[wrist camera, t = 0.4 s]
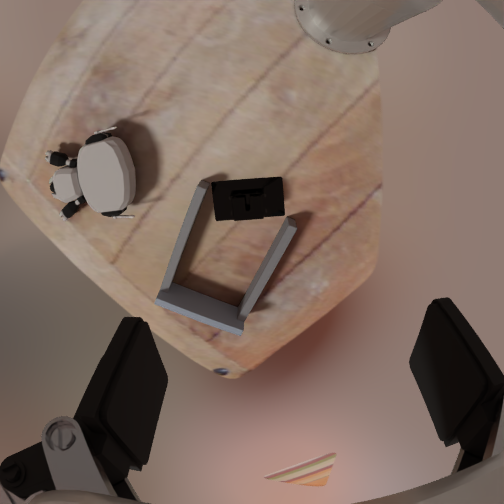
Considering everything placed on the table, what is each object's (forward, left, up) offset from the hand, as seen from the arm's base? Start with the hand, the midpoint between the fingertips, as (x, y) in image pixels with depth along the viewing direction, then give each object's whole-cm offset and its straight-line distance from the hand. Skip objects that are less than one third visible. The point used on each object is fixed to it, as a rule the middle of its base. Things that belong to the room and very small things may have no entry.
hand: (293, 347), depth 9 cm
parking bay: (+14, 0, -32) cm, 35 cm away
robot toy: (+11, -22, -32) cm, 40 cm away
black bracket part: (+6, 0, -32) cm, 33 cm away
